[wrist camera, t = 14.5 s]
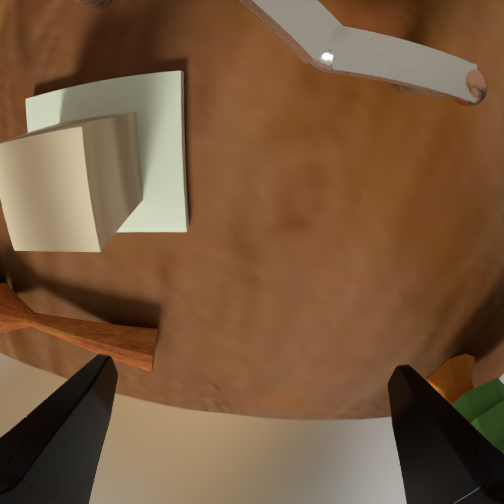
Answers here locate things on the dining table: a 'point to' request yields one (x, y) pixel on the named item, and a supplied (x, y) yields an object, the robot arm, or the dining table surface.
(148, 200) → the sage pad
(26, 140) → the birch block
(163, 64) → the dining table surface
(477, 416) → the decorative tree
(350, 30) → the steel handle
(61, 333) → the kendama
